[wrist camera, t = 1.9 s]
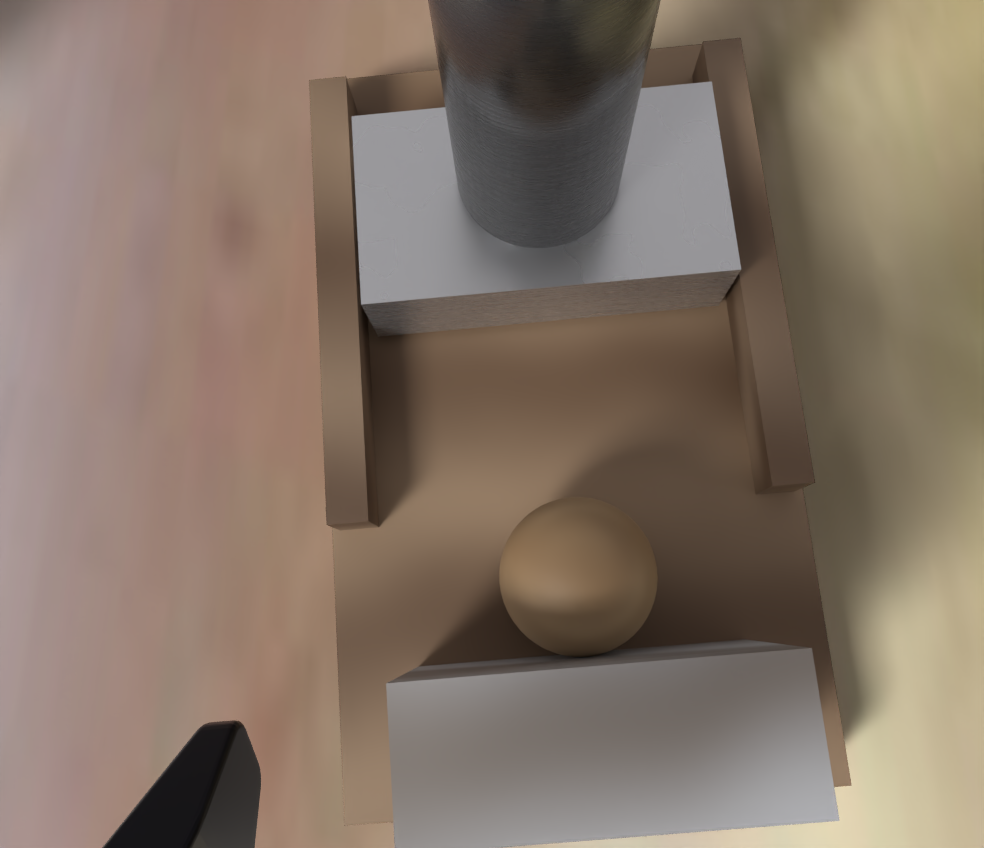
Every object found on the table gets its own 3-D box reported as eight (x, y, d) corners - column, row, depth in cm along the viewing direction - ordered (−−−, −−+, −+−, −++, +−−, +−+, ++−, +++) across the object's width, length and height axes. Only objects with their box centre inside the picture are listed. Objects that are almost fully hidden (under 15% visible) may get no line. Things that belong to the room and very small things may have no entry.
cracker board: (822, 769, 22) (957, 842, 15) (360, 807, 22) (286, 894, 15) (714, 83, 26) (780, -103, 19) (329, 121, 26) (261, -50, 20)
